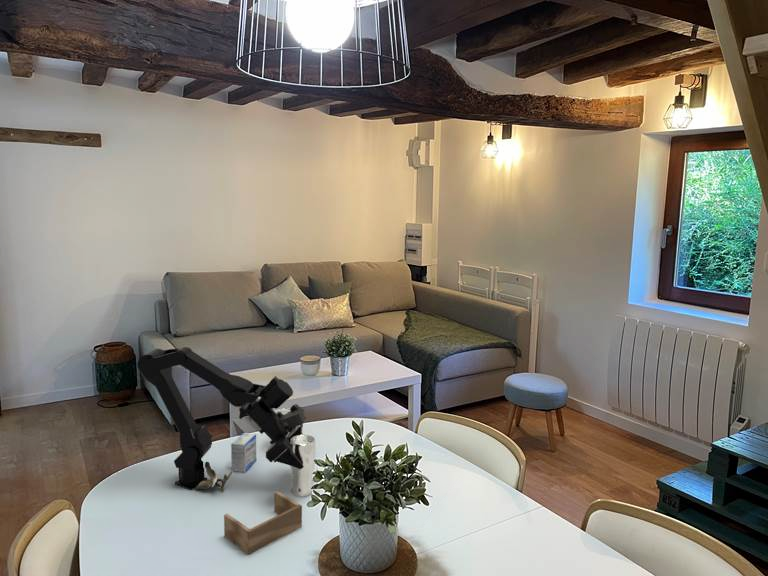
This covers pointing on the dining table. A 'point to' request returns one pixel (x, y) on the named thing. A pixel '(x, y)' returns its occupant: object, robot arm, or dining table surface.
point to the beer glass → (306, 454)
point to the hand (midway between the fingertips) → (306, 459)
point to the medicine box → (243, 452)
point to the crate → (265, 525)
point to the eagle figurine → (212, 479)
